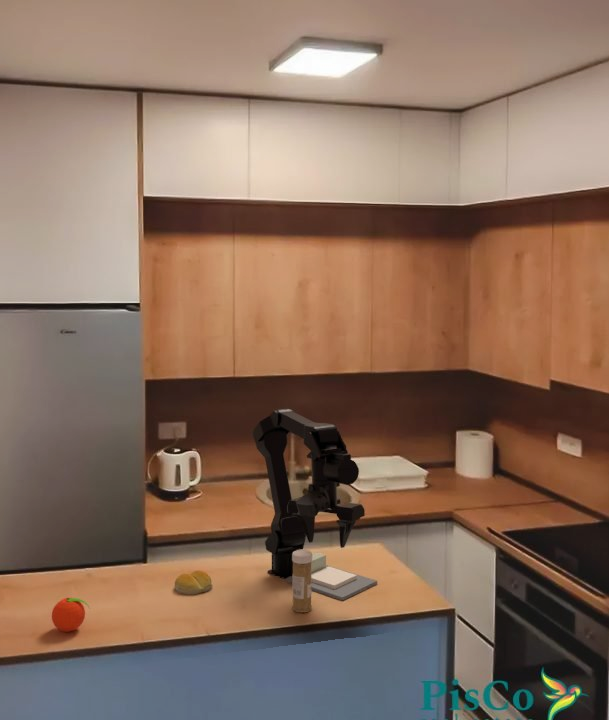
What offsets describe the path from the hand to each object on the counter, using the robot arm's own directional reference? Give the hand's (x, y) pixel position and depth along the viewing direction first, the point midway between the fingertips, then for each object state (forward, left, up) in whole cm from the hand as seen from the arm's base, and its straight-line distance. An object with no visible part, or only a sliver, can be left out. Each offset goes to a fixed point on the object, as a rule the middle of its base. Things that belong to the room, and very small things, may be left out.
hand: (326, 544), depth 189 cm
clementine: (-30, -49, -13) cm, 59 cm away
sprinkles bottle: (0, -8, -13) cm, 16 cm away
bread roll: (-28, -16, -14) cm, 35 cm away
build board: (-5, +9, -13) cm, 17 cm away
